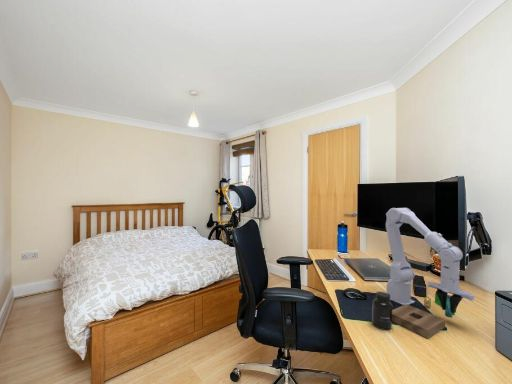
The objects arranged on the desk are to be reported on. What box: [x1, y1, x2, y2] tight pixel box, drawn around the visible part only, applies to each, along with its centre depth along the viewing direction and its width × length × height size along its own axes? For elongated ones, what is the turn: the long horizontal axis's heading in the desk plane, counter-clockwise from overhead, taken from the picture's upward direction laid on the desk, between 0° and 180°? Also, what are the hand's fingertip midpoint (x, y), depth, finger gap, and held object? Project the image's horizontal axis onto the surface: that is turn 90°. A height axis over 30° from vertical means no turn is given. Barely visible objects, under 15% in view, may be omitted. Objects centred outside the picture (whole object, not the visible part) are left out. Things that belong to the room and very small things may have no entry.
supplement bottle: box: [371, 291, 394, 331], centre depth 90 cm, size 7×7×12 cm
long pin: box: [444, 294, 454, 319], centre depth 93 cm, size 2×2×8 cm
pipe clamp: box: [434, 292, 456, 316], centre depth 104 cm, size 11×4×5 cm, turn 173°
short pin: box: [423, 296, 432, 310], centre depth 105 cm, size 2×2×4 cm
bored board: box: [392, 304, 446, 340], centre depth 92 cm, size 14×14×3 cm
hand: (448, 310), depth 93 cm, fingers closed on long pin, 2 cm apart
